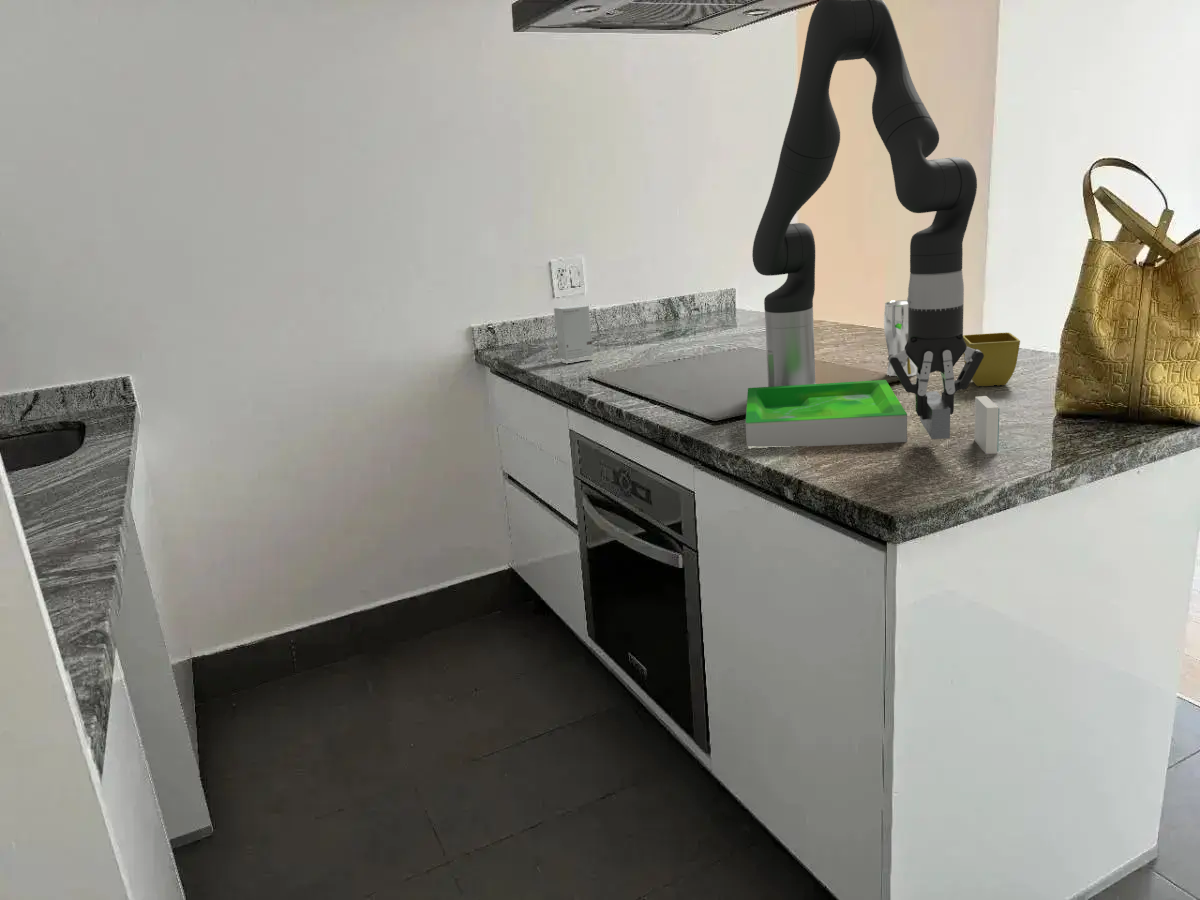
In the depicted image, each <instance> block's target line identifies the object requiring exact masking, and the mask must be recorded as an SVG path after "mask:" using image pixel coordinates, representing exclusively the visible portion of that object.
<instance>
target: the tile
mask: <svg viewBox="0 0 1200 900" xmlns="http://www.w3.org/2000/svg"><path fill="white" fill-rule="evenodd" d="M974 399H975V401H974V403H975V404H974V407H975V408H974V441H975V443H976V444H977V445H978V447H979V448H980V449H981V450H982V451H983V452H984V454H985V455H991V454H994V455H995V454H998V452H999V435H1000V434H999V433H1000V432H999V429H1000V407H999V406H998V405H997V404H996V403H995V402H994V401H993V400H992V399H990V398H989V397H988V396H987V395H983V396H975V398H974Z"/></svg>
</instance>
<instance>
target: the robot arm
mask: <svg viewBox="0 0 1200 900" xmlns="http://www.w3.org/2000/svg"><path fill="white" fill-rule="evenodd" d="M896 29H897V28H896V26H895V24H894V20H893V17H892V14H891V12H890V9H889V8H888V5H887V3H886V2H885V1H884V0H819V1H817V3H816V5H815V6H814V9H813V11H812V12H811V16H810V20H809V23H808V26H807V32H806V38H805V42H804V50H803V55H802V61H801V67H800V74H799V78H798V79H799V80H798V84H797V89H796V93H795V98H794V103H793V106H792V110H791V114H790V118H789V122H788V126H787V128H786V131H785V135H784V138H783V142H782V146H781V149H780V150H781V151H780V154H779V159H778V162H777V163H778V165H777V168H776V172H775V176H774V179H773V183H772V186H771V190H770V194H769V197H768V199H767V202H766V206H765V208H764V211H763V213H762V217H761V219H760V221H759V223H758V224H759V225H758V226H757V230H756V233H755V236H754V240H753V246H752V252H751V253H752V256H751V257H752V262H753V263H752V264H753V266H754V269H755V271H756V272H757V273H759V274H760V275H762V276H769V277H770V276H781V275H787V277H786V280H785V282H783V284H782V285H781V286H779V287H777V289H775V290H774V291H772V292H770V293H768V294H767V295H766V296H765V297H764V299H763V300H764V301H763V302H764V303H763V304H764V306H763V307H764V317H765V318H764V320H765V321H764V322H765V323H764V326H765V345H766V346H765V347H766V366H767V367H766V369H767V370H766V371H767V387H773V386H790V385H807V384H817V382H816V363H815V362H816V361H815V360H816V359H815V356H816V355H815V333H814V332H815V330H814V329H815V328H814V296H815V289H816V287H815V286H816V243H815V235H814V233H813V231H812V229H811V227H810V226H809V225H808V224H806V223H805V222H797V223H796V222H795V223H792V220H793V218H794V217H795V216H796V214H797V213H798V211H799V210H800V209H801V208H802V207H803V206H804V205H805V204H806V203H807V202H808V201H809V200H810V199H811V198H812V197H813V196H814V195H815V194H816V192H818V190H820V188H821V187H822V186H823V184H824V183H825V182H826V181H827V179H828V178H829V175H830V174H831V171H832V169H833V165H834V162H835V160H836V156H837V153H838V150H839V147H840V143H841V130H840V129H841V128H840V125H839V122H838V118H837V115H836V113H835V110H834V107H833V105H832V101H831V98H830V84H831V79H832V75H833V71H834V68H835V67H836V64H837V62H842V61H853V60H854V61H855V60H861V59H862V60H863V59H865V61H867V62H868V64H869V65H870V67H871V69H872V70H873V71H874V74H875V76H876V77H875V78H876V79H875V87H874V92H873V97H872V102H871V103H872V104H871V112H872V113H871V115H872V120H873V124H874V126H875V129H876V131H877V133H878V135H879V137H880V139H881V142H882V143H883V145H884V146H885V148H886V151H887V152H888V154H889V158H890V163H891V169H892V175H893V180H894V181H893V182H894V189H895V192H896V197H897V200H898V202H899V203H900V204H901V205H902V207H904V208H905V209H906V210H908V211H909V212H911V213H914V214H925V213H931V212H932V213H934V212H935V215H934V218H933V220H932V223H931V224H930V225H929V226H928V227H927V228H924V229H922V230H920V231H917V232H916V233H914V234H913V235H912V236H911V239H910V243H909V281H908V288H907V292H908V293H907V298H906V300H907V302H908V341H907V344H906V345H905V350H903V351H901V352H899V353H897V354H895V355H894V354H891V355H888V357H887V360H888V363H889V362H890V364H891V366H892V368H893V369H894V371H895V373H896V375H897V377H896V378H898V380H899V382H900V384H901V385H902V388H903V389H904V390H905V392H906V393H911V394H914V396H915V413H916V415H917V416H918V417H919V419H920V418H921V419H922V420H925V419H927V395H926V392H928V391H927V388H928V383H929V379H930V374H931V373H934V372H940V376H941V381H942V387H943V391H941V397H942V399H943V400H944V401H945V402H946V404H947V405H948V406H949V408H950V415H953V413H954V411H955V410H954V409H955V408H954V407H955V406H954V405H955V393H957V392H958V391H961V390H965V391H966V390H967V389H968V387H969V385H970V384H971V382H972V378H973V376H974V374H975V372H976V371H977V369H978V367H979V365H980V363H981V361H982V359H983V358H984V354H983V353H982V352H981V351H980V350H978V349H972V348H969V347H967V346H966V343H965V341H964V339H963V335H964V302H965V301H964V297H965V287H964V286H965V285H964V275H963V254H964V253H963V249H964V248H963V242H964V238H965V234H966V231H967V229H968V224H969V221H970V217H971V213H972V211H973V207H974V203H975V200H976V197H977V190H978V189H977V188H978V179H977V174H976V171H975V169H974V167H973V165H972V163H970V161H969V160H967V159H966V158H963V157H960V156H959V157H958V156H956V157H944V158H937V159H935V158H934V159H927V157H929V156H930V155H931V154H932V153H934V151H935V150H936V149H937V147H938V145H939V141H940V135H939V134H940V133H939V131H938V128H937V126H936V124H935V122H934V121H933V118H932V117H931V115H930V113H929V111H928V110H927V108H926V106H925V104H924V102H923V101H922V99H921V97H920V95H919V93H918V92H917V89H916V87H915V83H914V82H913V80H912V77H911V74H910V71H909V70H910V69H909V68H908V63H907V61H906V57H905V55H904V51H903V48H902V44H901V42H900V39H899V36H898V33H897V30H896ZM963 353H965V357H964V355H963ZM962 356H963V360H965V361H966V363H965V362H964V366H963V367H962V369H961V370H960V373H959V374H958V376H957V379H956V380H955V374H954V373H955V371H954V366H955V365H956V364H957V363H958V361H959V359H961V357H962ZM907 357H909V358H910V359H911V360H912V362H913V363H914V364H915V365H916V367H917V374H916V375H915V378H916V380H915V383H914V382H911V380H910V377H908V376H907V374H906V372H905V371H904V369H903V367H904V366H905V365H906V358H907Z"/></svg>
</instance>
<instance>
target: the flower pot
mask: <svg viewBox="0 0 1200 900" xmlns="http://www.w3.org/2000/svg"><path fill="white" fill-rule="evenodd" d="M963 339H964V341H965V343H966V346H967V347H969V348H972V349H978V350H980V351H981V352H982V353H983V354H984V358H983V359H982V361H981V363H980V365H979V367H978V369H977V371H976V372H975V374H974V376H973V378H972V380H971V382H973V383H974V384H975V386H976V387H979V386H982V387H990V386H991V387H993V386H994V385H997V386H1000V385H1002V386H1006V385H1007V383H1008V382H1009V381H1010V380H1011V378H1012V376H1013V374H1014V372H1015V370H1016V366H1017V362H1018V358H1019V351H1020V344H1021V340H1020V339H1019V338H1017V337H1016V336H1015V335H1013V334H1012V333H1011V332H993V333H991V332H990V333H976V334H973V333H972V334H963ZM962 356H963V358H964V357H965V353H963V355H962ZM963 360H964V359H963ZM965 363H966V361H965V360H964V364H965Z"/></svg>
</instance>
